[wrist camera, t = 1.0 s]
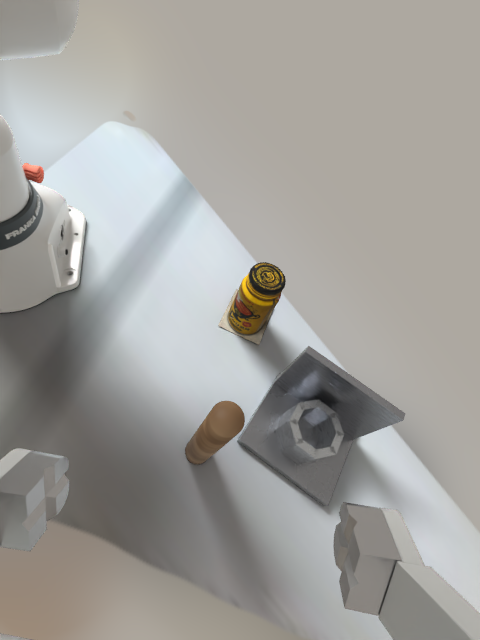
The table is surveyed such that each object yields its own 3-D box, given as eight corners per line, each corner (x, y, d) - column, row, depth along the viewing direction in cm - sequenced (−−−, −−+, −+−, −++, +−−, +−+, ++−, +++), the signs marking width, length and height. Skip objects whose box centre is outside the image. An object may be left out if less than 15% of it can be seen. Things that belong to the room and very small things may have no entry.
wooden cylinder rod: (186, 436, 43) (211, 398, 30) (210, 439, 44) (245, 403, 31) (183, 463, 42) (208, 434, 29) (208, 465, 42) (243, 438, 29)
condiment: (217, 326, 53) (237, 281, 44) (236, 289, 58) (257, 241, 48) (258, 345, 54) (287, 305, 44) (273, 307, 59) (302, 263, 49)
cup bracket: (323, 505, 44) (379, 500, 34) (237, 441, 45) (267, 417, 35) (353, 430, 50) (407, 406, 41) (277, 375, 52) (311, 340, 42)
